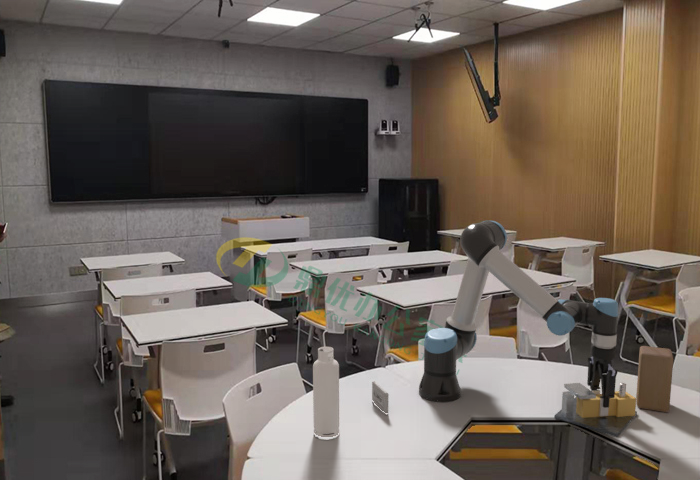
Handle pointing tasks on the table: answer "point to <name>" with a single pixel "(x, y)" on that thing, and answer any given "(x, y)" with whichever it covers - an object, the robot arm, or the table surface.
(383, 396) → the cassette
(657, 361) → the wooden block
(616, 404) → the link
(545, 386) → the table surface
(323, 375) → the bottle
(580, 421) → the base
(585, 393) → the block
